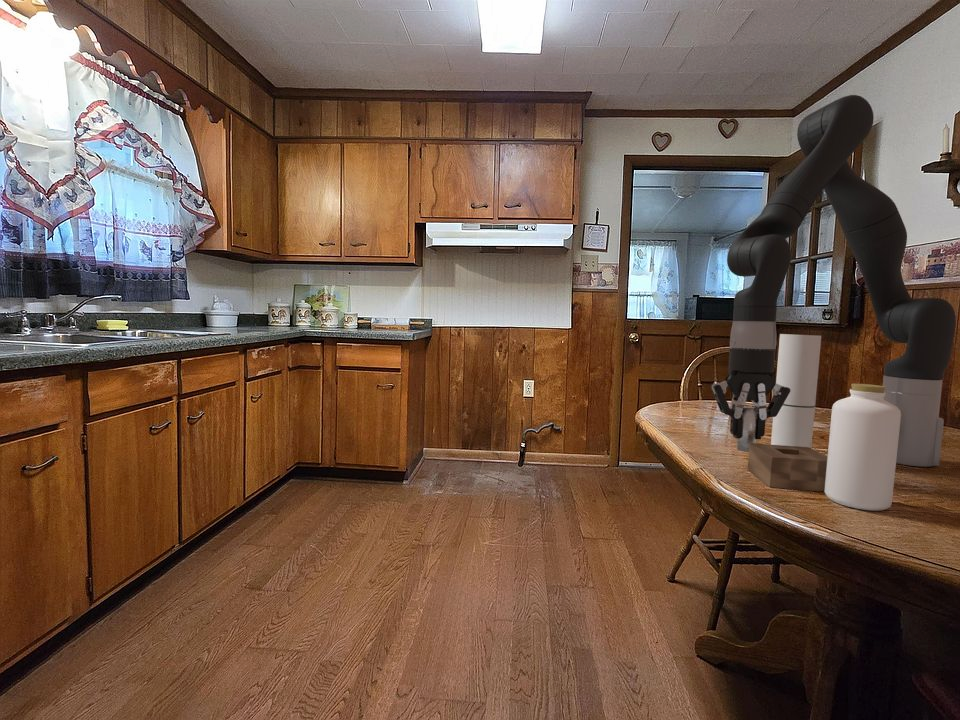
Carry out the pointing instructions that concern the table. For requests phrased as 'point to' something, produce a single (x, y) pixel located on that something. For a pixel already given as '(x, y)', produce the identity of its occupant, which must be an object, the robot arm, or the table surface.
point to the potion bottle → (863, 449)
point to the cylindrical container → (797, 389)
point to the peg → (747, 428)
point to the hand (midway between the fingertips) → (746, 437)
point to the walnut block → (788, 466)
